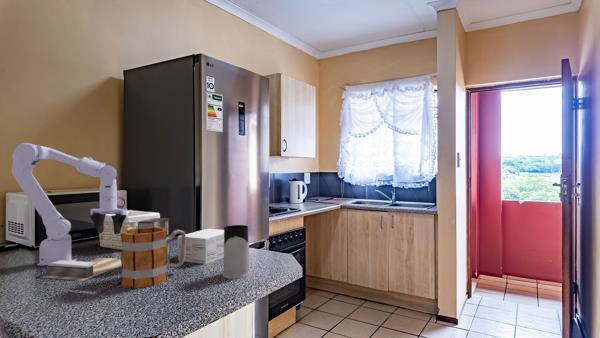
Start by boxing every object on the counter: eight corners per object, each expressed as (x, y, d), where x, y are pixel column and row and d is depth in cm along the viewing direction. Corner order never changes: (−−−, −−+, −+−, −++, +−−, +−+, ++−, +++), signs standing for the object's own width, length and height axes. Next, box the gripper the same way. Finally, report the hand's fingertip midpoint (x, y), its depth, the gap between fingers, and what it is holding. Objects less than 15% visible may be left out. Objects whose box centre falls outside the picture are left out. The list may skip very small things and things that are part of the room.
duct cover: (48, 266, 110) (48, 263, 110) (60, 262, 114) (60, 259, 114) (85, 268, 107) (85, 265, 107) (96, 264, 111) (96, 262, 111)
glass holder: (221, 279, 106) (220, 229, 106) (224, 266, 120) (223, 222, 120) (250, 277, 107) (250, 228, 107) (250, 265, 121) (249, 221, 121)
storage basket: (95, 246, 154) (95, 213, 154) (130, 240, 167) (130, 209, 167) (126, 253, 141) (126, 216, 141) (161, 245, 154) (161, 212, 154)
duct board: (39, 279, 108) (39, 267, 108) (100, 259, 131) (100, 250, 131) (82, 282, 104) (82, 270, 104) (137, 261, 128) (137, 251, 128)
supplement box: (207, 251, 144) (206, 228, 144) (233, 253, 139) (233, 230, 139) (177, 261, 129) (176, 235, 129) (205, 264, 123) (205, 238, 123)
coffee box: (154, 262, 127) (153, 217, 127) (170, 262, 125) (169, 218, 125) (137, 269, 118) (137, 221, 118) (154, 270, 116) (154, 221, 116)
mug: (128, 291, 96) (127, 236, 96) (114, 280, 106) (113, 230, 106) (195, 276, 109) (195, 228, 109) (177, 267, 119) (177, 223, 119)
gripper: (132, 196, 135) (132, 232, 135) (100, 196, 138) (100, 231, 138) (118, 198, 128) (119, 235, 128) (85, 198, 132) (86, 234, 132)
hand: (108, 233), depth 133 cm, fingers open, 7 cm apart
